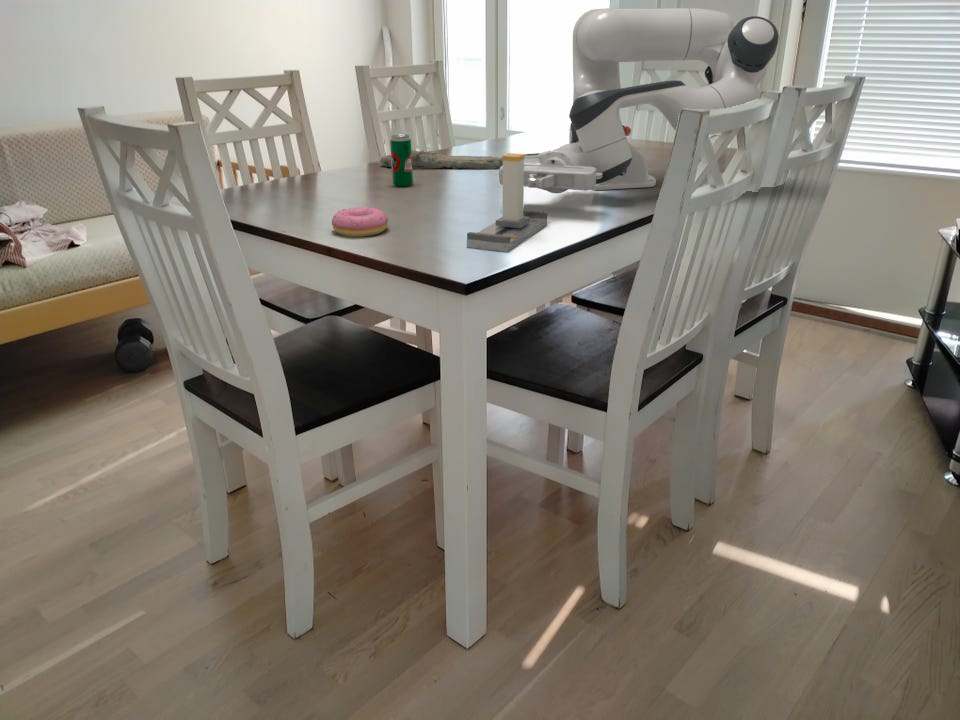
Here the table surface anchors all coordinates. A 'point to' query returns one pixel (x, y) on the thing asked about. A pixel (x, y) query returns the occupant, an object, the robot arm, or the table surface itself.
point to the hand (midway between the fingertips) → (534, 183)
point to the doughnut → (359, 222)
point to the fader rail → (507, 234)
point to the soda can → (401, 160)
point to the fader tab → (513, 192)
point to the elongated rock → (448, 161)
